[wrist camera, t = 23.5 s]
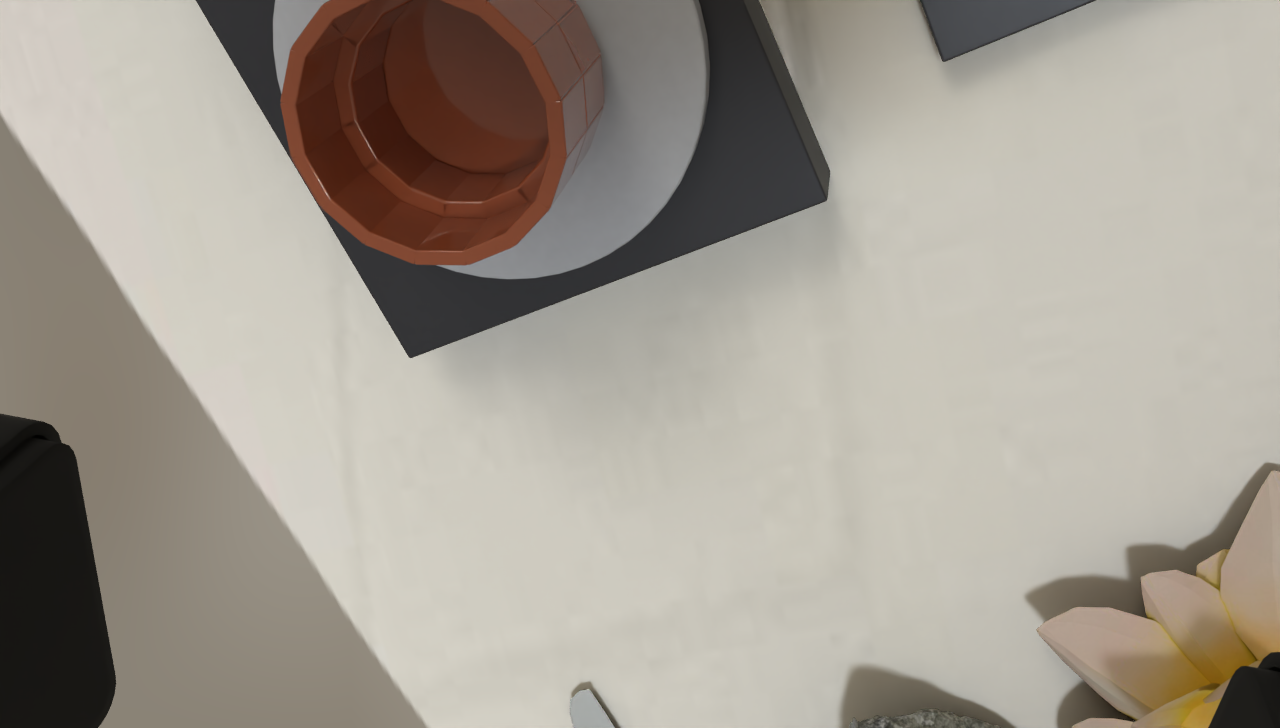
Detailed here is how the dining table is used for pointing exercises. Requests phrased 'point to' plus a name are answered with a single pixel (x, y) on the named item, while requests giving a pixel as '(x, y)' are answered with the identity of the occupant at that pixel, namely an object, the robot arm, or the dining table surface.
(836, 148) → the dining table surface
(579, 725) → the butter knife
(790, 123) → the scale
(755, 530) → the dining table surface
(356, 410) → the dining table surface
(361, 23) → the plant pot
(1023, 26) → the block
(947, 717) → the rock
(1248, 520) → the decorative flower
